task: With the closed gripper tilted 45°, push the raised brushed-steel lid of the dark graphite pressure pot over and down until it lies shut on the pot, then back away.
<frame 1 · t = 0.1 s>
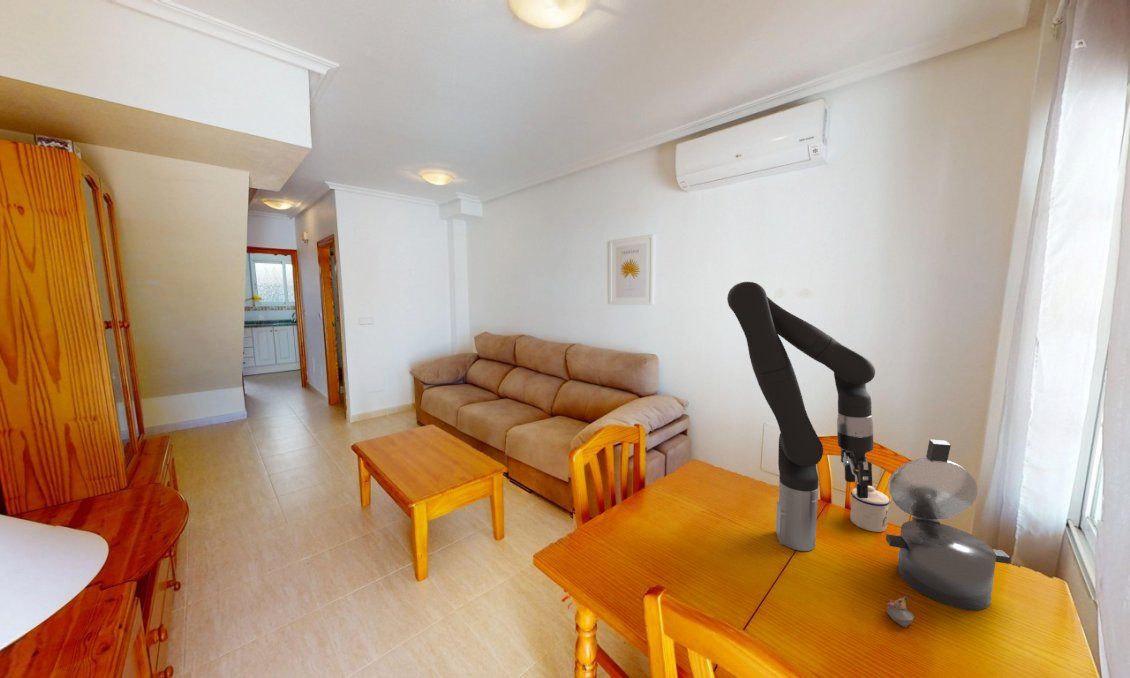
hand: (855, 489, 104), 17 cm above the table, tool pointing down, fingers open, 8 cm apart
white lidded canister: (866, 521, 119), on the table
figurine: (899, 620, 84), on the table
pot: (941, 583, 94), on the table
lid: (931, 479, 98), point 22 cm above the table, hinge at 80.0°
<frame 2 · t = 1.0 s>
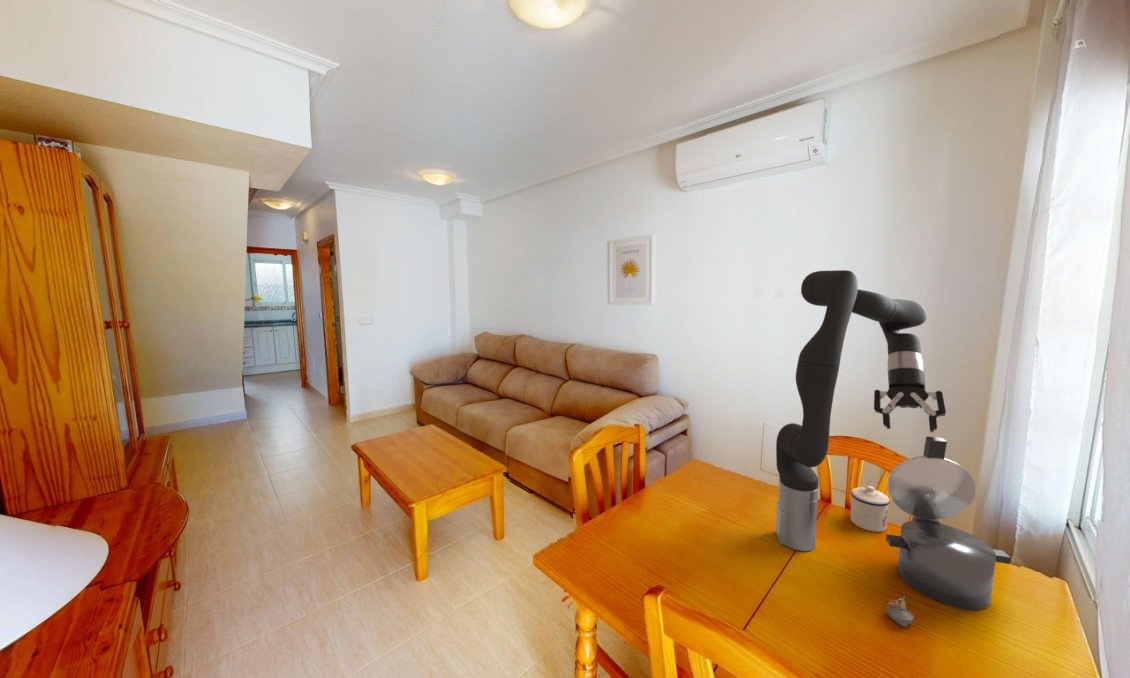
hand: (909, 430, 102), 33 cm above the table, tool tilted 30°, fingers open, 8 cm apart
lid: (929, 478, 99), point 22 cm above the table, hinge at 84.3°
everything else where it was.
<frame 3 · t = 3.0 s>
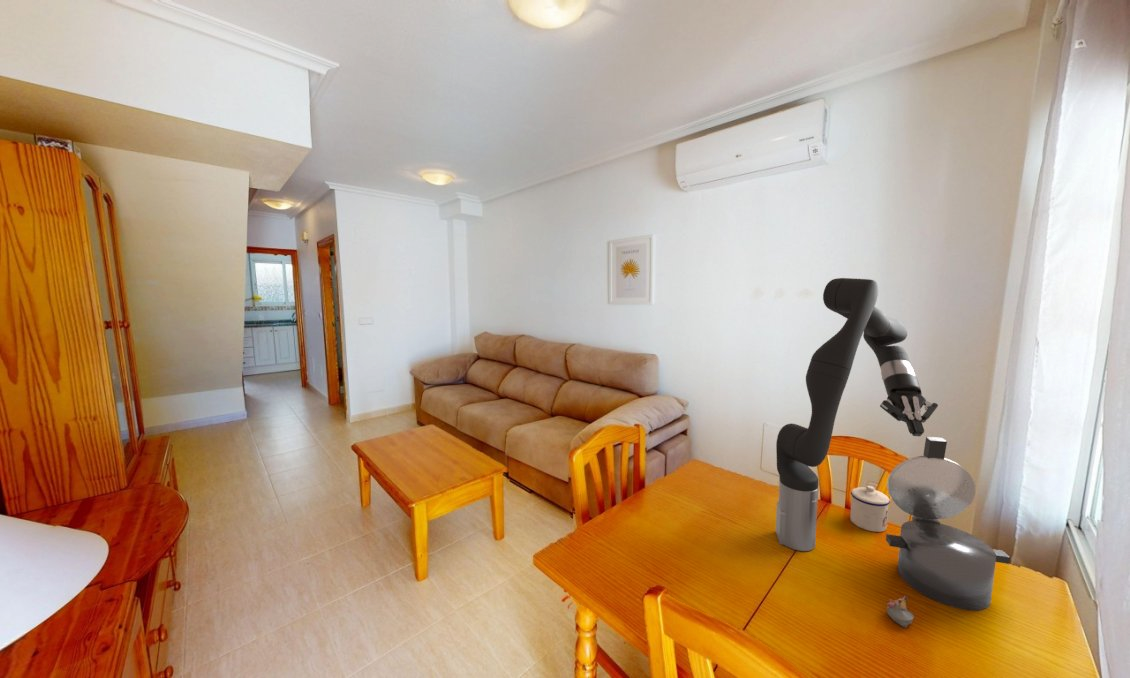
hand: (918, 435, 104), 31 cm above the table, tool tilted 45°, fingers closed
nothing on the table moved.
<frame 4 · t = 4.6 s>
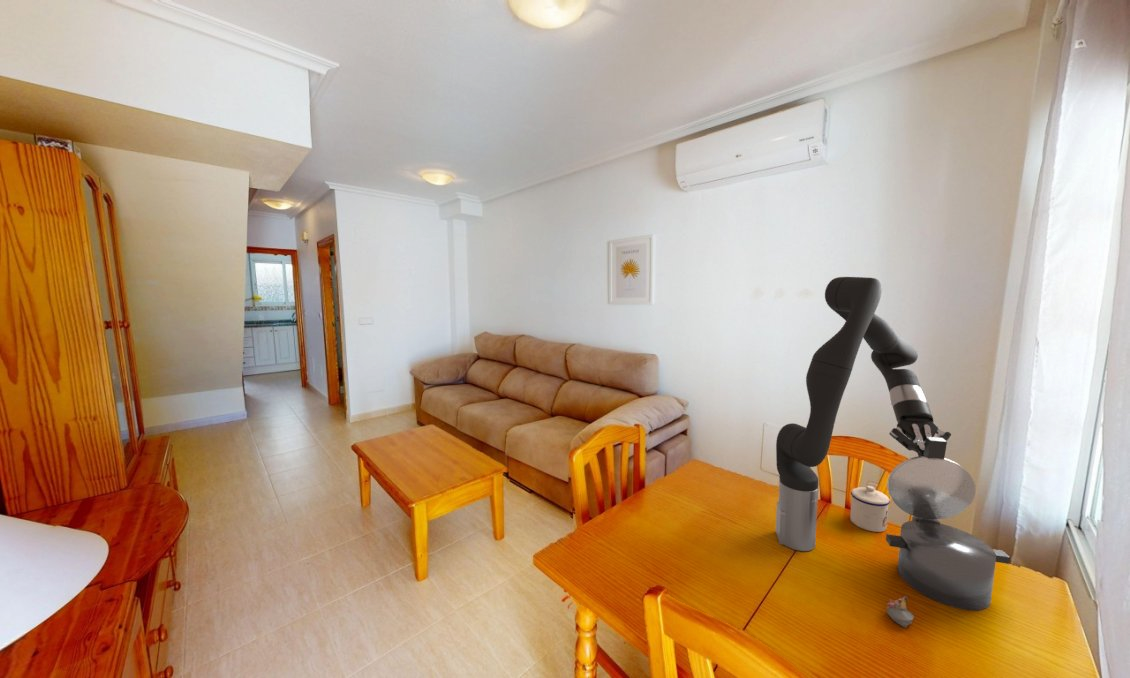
hand: (930, 466, 99), 25 cm above the table, tool tilted 45°, fingers closed
lid: (929, 478, 99), point 22 cm above the table, hinge at 84.1°, touching gripper
everything else where it was.
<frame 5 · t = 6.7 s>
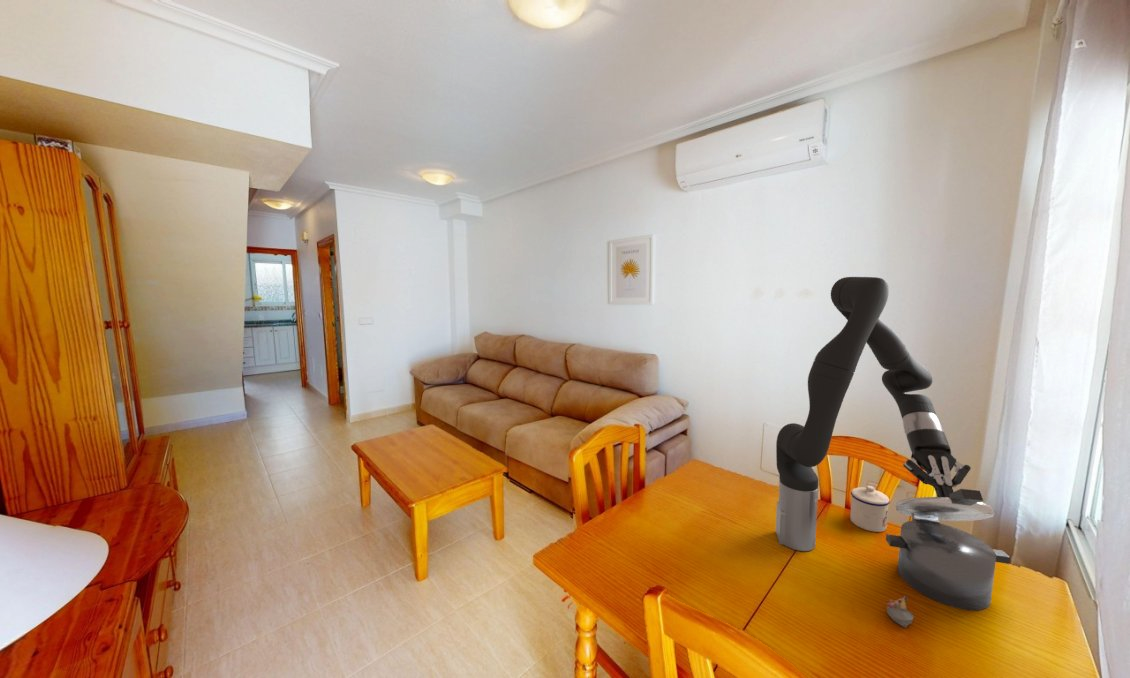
hand: (948, 503, 91), 20 cm above the table, tool tilted 45°, fingers closed
lid: (945, 504, 92), point 19 cm above the table, hinge at 41.4°, touching gripper
everything else where it was.
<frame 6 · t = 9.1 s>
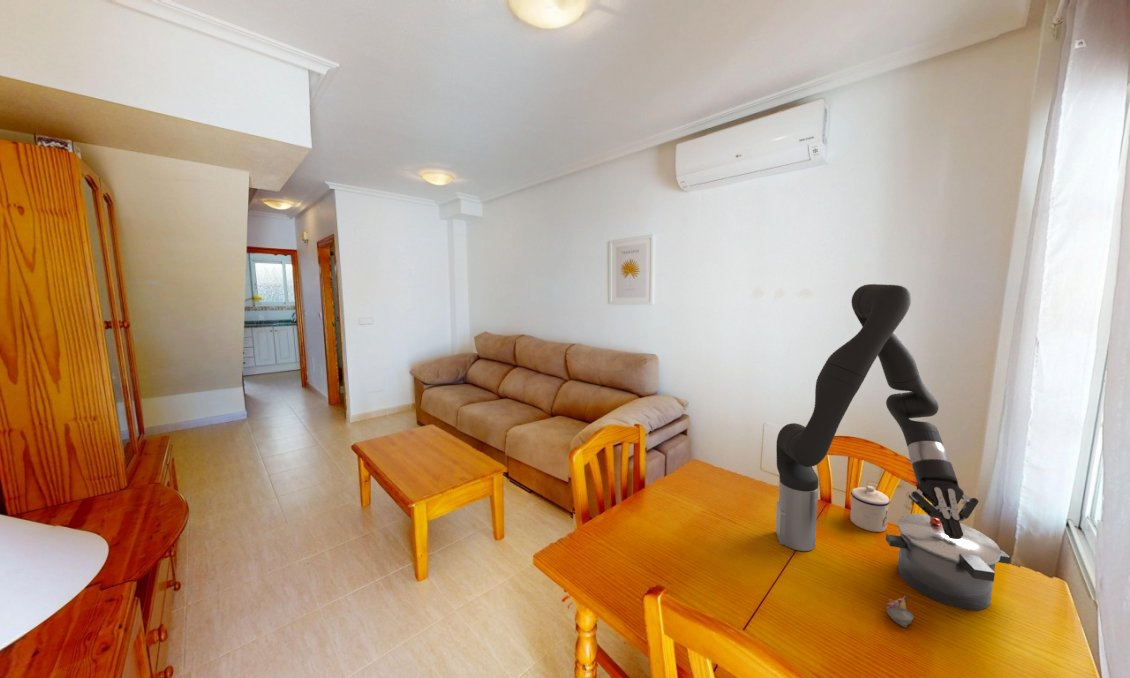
hand: (955, 538, 89), 14 cm above the table, tool tilted 45°, fingers closed
lid: (952, 540, 90), point 12 cm above the table, hinge at -0.1°
everything else where it was.
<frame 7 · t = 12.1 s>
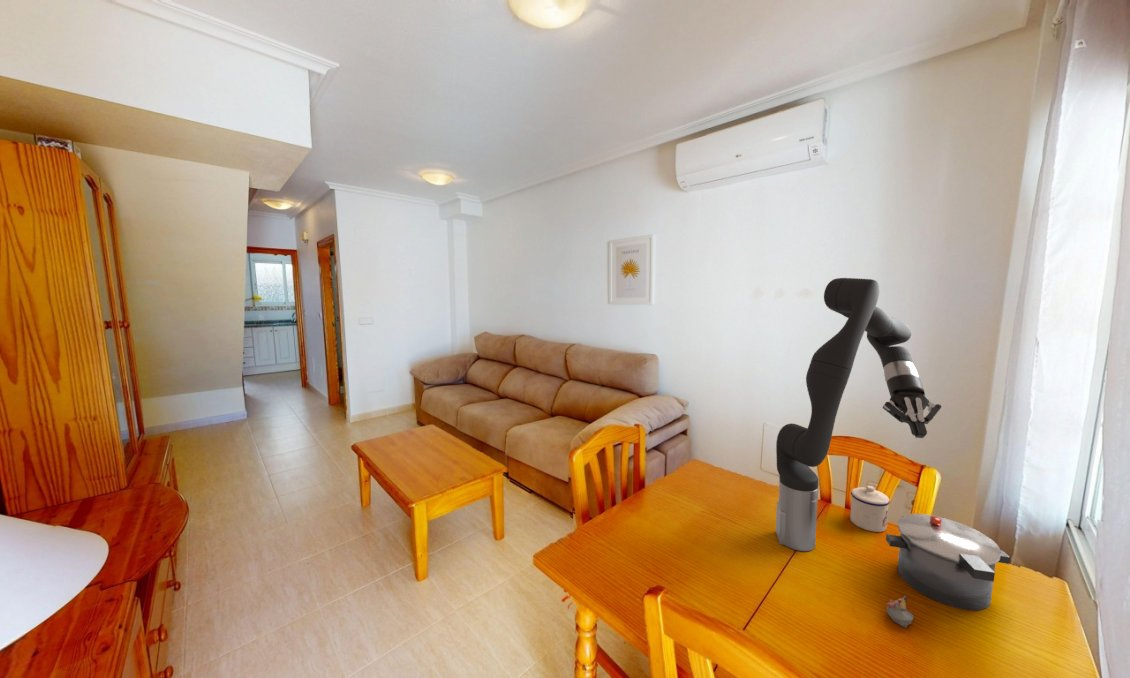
hand: (920, 436, 104), 31 cm above the table, tool tilted 45°, fingers closed
nothing on the table moved.
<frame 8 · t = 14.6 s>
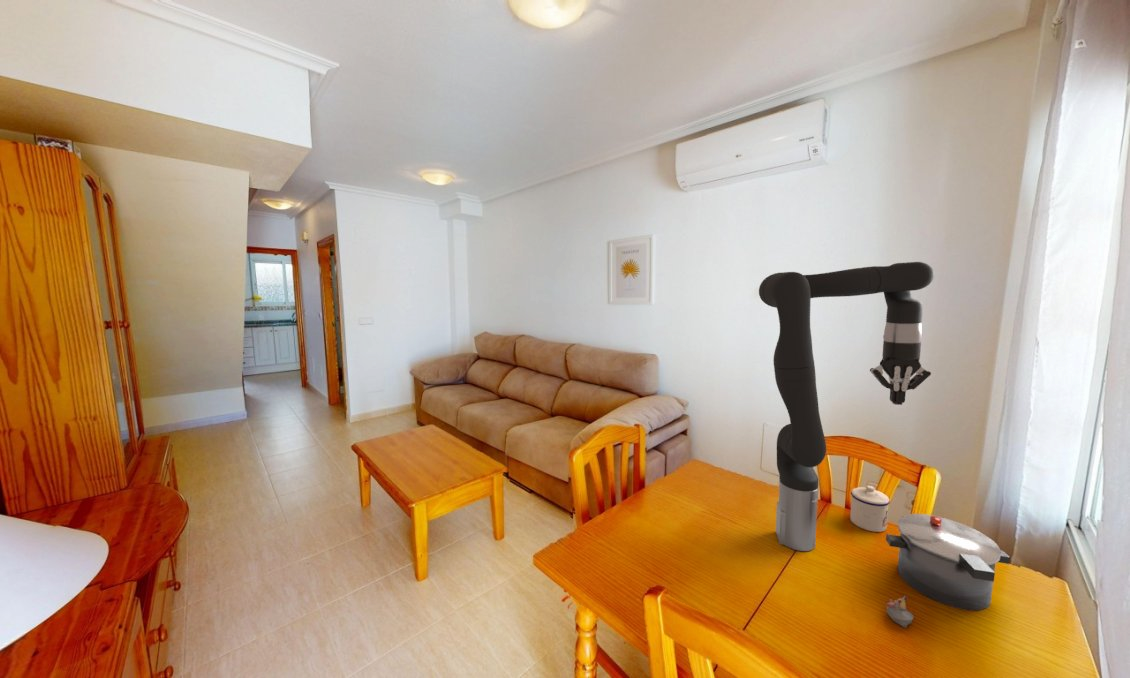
hand: (897, 403, 105), 39 cm above the table, tool pointing down, fingers closed
nothing on the table moved.
at the end: lid at +0° (first picture: +80°); white lidded canister moved 0.2 cm from its start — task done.
